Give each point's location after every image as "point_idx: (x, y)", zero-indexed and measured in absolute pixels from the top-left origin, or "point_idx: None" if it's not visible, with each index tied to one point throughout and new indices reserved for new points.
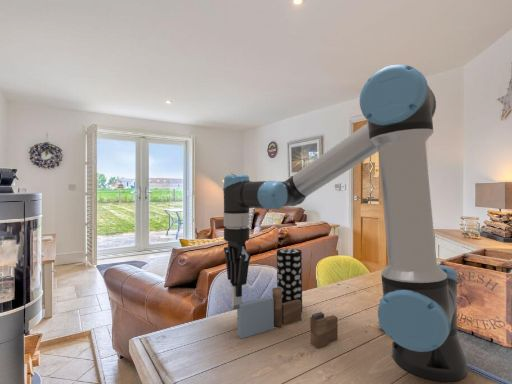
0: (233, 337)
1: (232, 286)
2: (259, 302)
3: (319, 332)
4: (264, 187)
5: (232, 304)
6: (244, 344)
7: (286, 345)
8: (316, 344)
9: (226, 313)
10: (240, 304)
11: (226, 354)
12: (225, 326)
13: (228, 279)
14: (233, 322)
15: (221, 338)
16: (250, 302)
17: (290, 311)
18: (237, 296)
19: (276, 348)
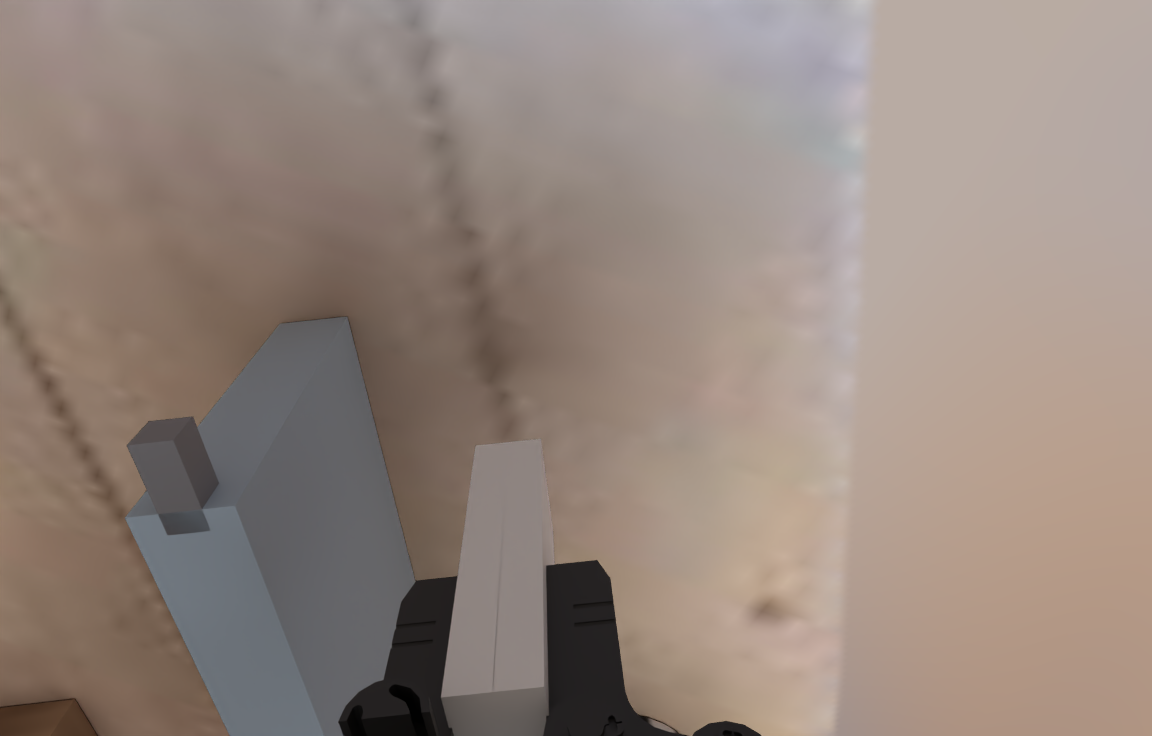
0: (332, 274)
1: (503, 667)
2: (234, 725)
3: None
4: None
5: (512, 459)
6: (171, 316)
7: (80, 574)
8: (6, 721)
9: (844, 376)
10: (192, 536)
11: (18, 102)
12: (582, 279)
13: (717, 730)
14: (624, 371)
15: (352, 162)
16: (231, 653)
17: None
18: (412, 589)
19: (48, 503)
